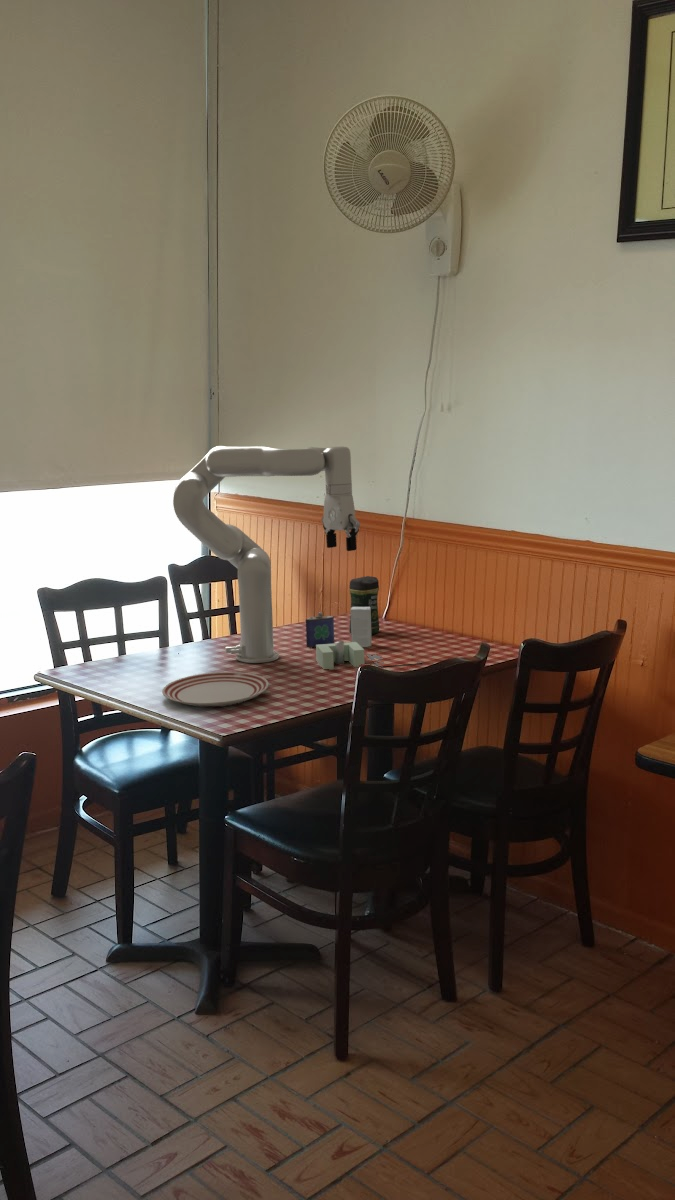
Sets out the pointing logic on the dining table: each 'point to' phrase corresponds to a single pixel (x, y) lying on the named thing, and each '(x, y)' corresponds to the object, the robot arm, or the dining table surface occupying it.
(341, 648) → the post
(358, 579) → the coffee jar
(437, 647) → the dining table surface
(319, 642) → the flask
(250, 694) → the dinner plate
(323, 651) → the c link
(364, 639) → the skincare box
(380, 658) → the mat
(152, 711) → the dining table surface
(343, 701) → the dining table surface
